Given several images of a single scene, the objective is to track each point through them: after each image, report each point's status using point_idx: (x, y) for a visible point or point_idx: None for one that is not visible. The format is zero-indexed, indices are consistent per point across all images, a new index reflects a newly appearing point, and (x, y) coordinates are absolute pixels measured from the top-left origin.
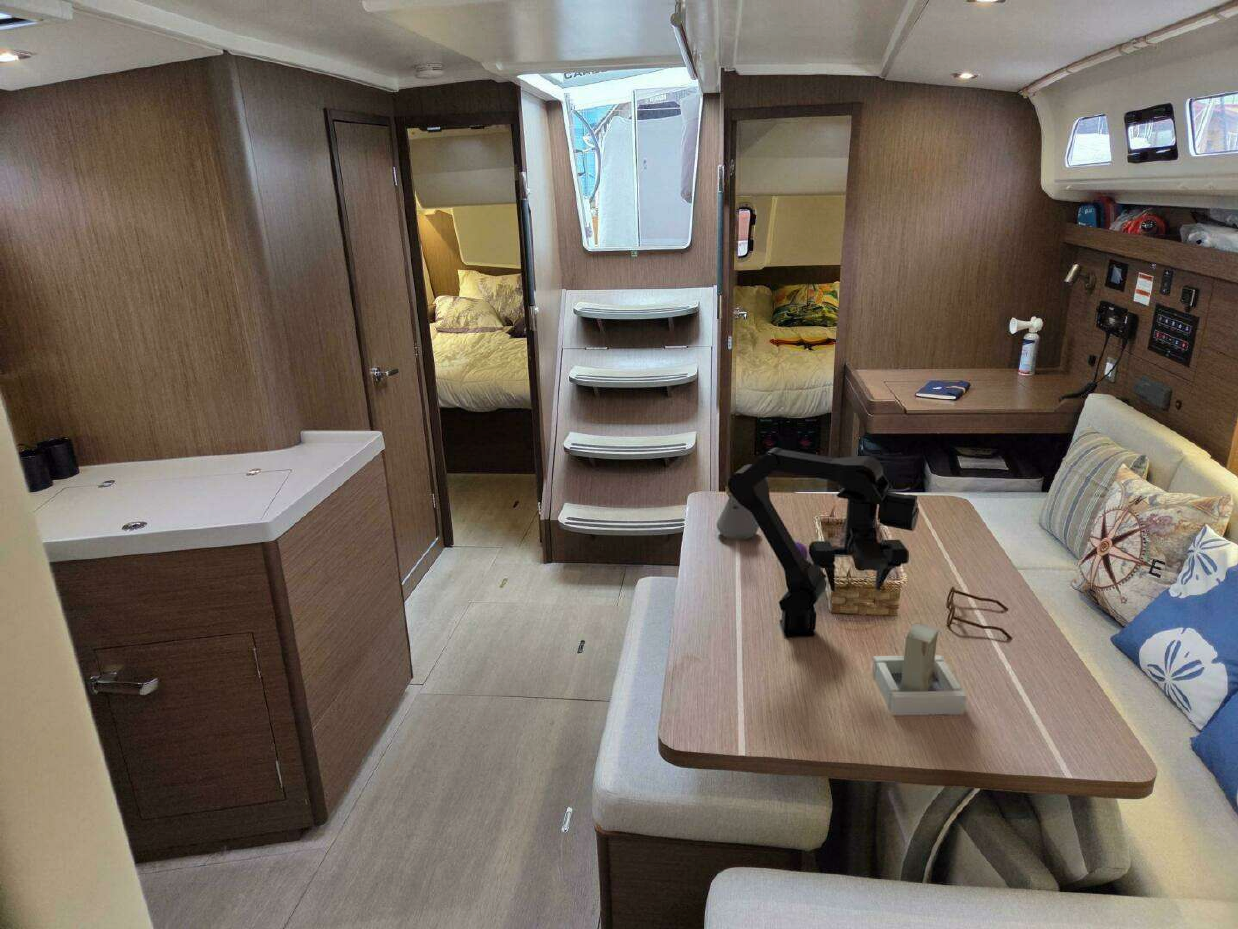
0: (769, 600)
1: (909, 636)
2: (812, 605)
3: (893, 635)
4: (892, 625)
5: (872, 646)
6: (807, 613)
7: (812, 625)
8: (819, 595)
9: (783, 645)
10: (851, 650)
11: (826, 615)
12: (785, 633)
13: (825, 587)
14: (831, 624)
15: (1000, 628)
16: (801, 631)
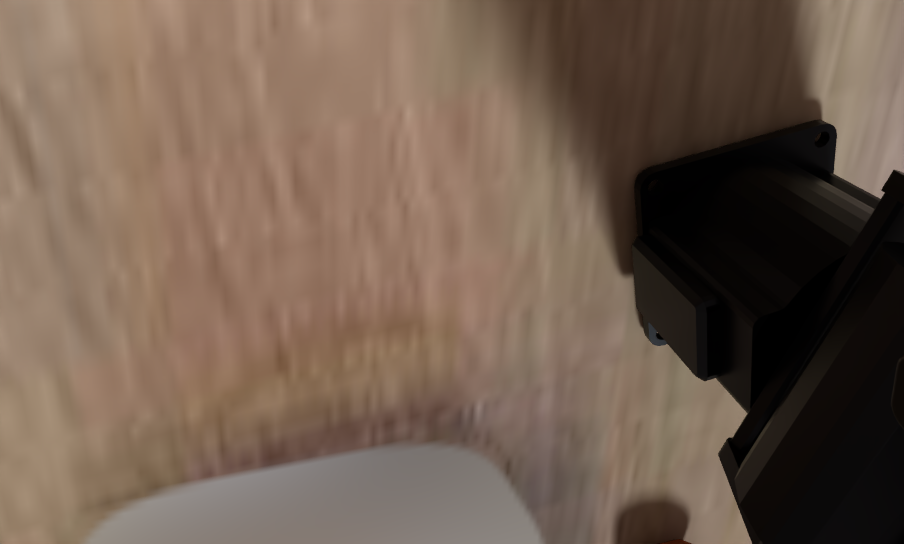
0: None
1: None
2: (885, 248)
3: (73, 338)
4: (99, 449)
5: (222, 154)
6: (795, 259)
7: (674, 241)
8: (876, 362)
9: (854, 20)
10: (385, 58)
11: (528, 429)
12: (826, 149)
13: (762, 523)
14: (506, 348)
15: None
16: (742, 173)
